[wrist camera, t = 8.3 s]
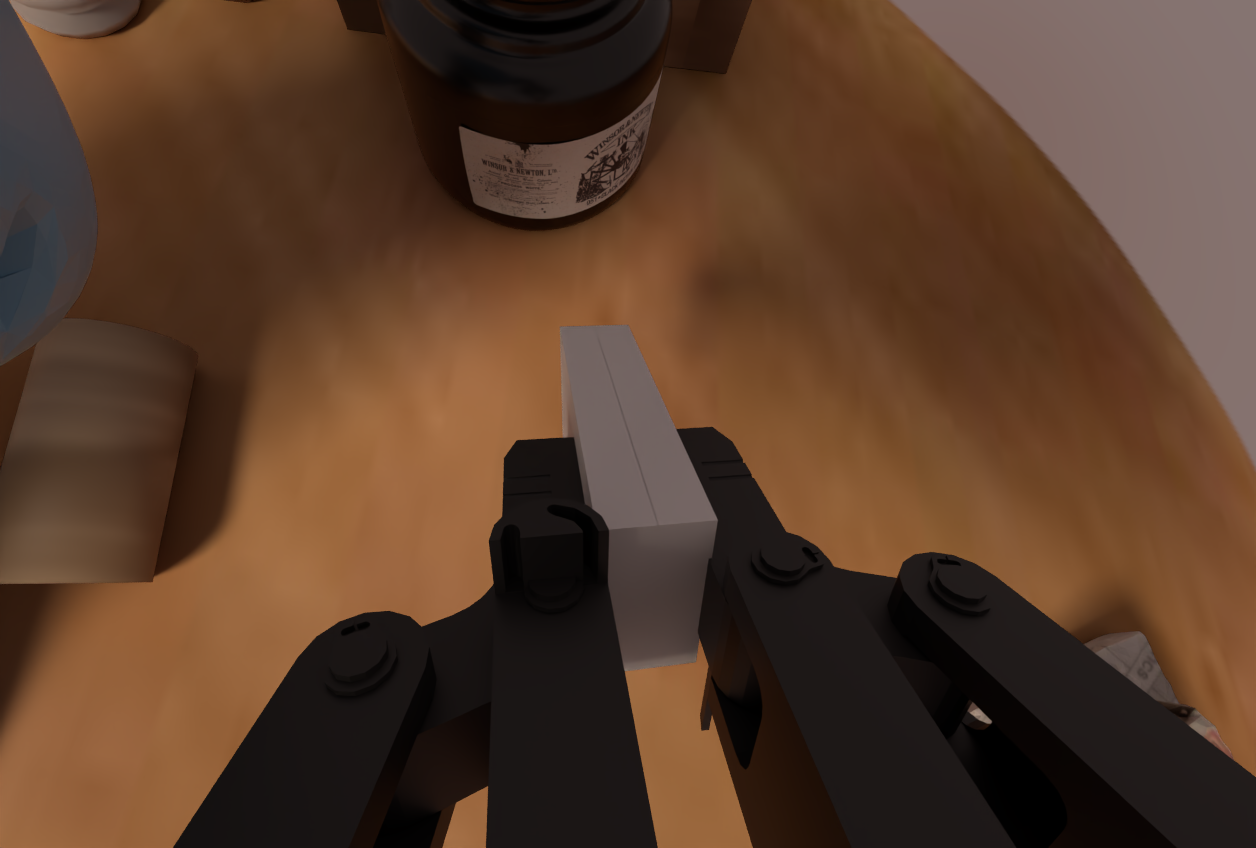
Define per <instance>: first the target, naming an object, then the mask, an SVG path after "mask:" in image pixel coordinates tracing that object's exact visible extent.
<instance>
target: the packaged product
mask: <svg viewBox="0 0 1256 848" xmlns="http://www.w3.org/2000/svg"><path fill="white" fill-rule="evenodd" d="M1084 645H1085V646H1086V647H1088V648H1089V649H1090V650H1092V651H1093V652H1094V653H1095V654H1097V655H1098V656H1099V657H1101V658H1102V659H1103V660H1105V661H1106V662H1107V663H1108V664H1110V665H1111V666H1112V667H1114V668H1115V669H1116V670H1117V671H1119V672H1120V673H1121V674H1123V675H1124V676H1125V677H1127V678H1128V679H1129V680H1130V681H1132V682H1133V683H1134V684H1136V685H1137V686H1138V687H1139V688H1141V689H1142V690H1143V691H1145V692H1146V693H1147V694H1149V695H1150V696H1151V697H1152V698H1154V699H1155V700H1156V701H1158V702H1159V703H1160V704H1162V705H1163V706H1164V707H1165V708H1167V709H1168V710H1169V711H1171V712H1172V713H1173V714H1174V715H1176V716H1177V717H1178V718H1180V719H1181V720H1182V721H1184V722H1185V723H1186V724H1187V725H1189V726H1190V727H1191V728H1193V729H1194V730H1195V731H1196V732H1198V733H1199V734H1200V735H1202V736H1203V737H1204V738H1206V739H1207V740H1208V741H1209V742H1211V743H1212V744H1213V745H1215V746H1216V747H1217V748H1219V749H1220V750H1221V751H1222V752H1224V753H1225V754H1226V755H1228V756H1229V757H1230V758H1231V759H1233V756H1232V754H1231V751H1230V749H1229V748H1228V747H1227V746H1226V745H1225V743H1224V742H1223V741H1222V740H1221V738H1220V736H1219V733H1218V731H1217V729H1216V727H1215V726H1214V725H1213V724H1212V723H1211V722H1209V721H1208V720H1207V719H1206V718H1204V717H1203V716H1202V715H1201V714H1200V713H1199V712H1198V711H1197V710H1196V709H1195V708H1192V707H1190V706H1187V705H1184V704H1179V702H1178V701H1177V699H1176V697H1175V695H1174V692H1173V690H1172V687H1171V685H1170V683H1169V682H1168V681H1167V679H1166V678H1165V676H1164V675H1163V673H1162V670H1161V668H1160V666H1159V664H1158V662H1157V661H1156V659H1155V657H1154V654H1153V652H1152V649H1151V647H1150V645H1149V643H1148V641H1147V639H1146V637H1145V635H1143V634H1142V633H1141V632H1140V631H1134V632H1122V633H1110V634H1106V635H1103V636H1100V637H1097V638H1095V639H1093V640H1091V641H1089V642H1087V643H1085V644H1084ZM968 712H969V713H971V714H972V715H973V716H974V717H976V718H977V719H978V720H981V721H983V722H985V723H988V724H991V722H992V721H991V720H990V719H989V718H988V717H987V716H986V715H985V714H984V713H983V712H982V711H981V710H980V709H979V708H978V707H977V706H976V705H975V704H974V703H973V702H972V704H971V706H970V708H969V709H968ZM1233 760H1234V759H1233Z"/></svg>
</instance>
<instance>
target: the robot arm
mask: <svg viewBox="0 0 1256 848" xmlns="http://www.w3.org/2000/svg"><path fill="white" fill-rule="evenodd" d="M97 234H98V219H97V209H96V201H95V196H94V191H93V186H92V181H91V176H90V173H89V169H88V166H87V163H86V159H85V156H84V152H83V150H82V147H81V145H80V142H79V139H78V137H77V134H76V132H75V130H74V127H73V125H72V122H71V120H70V117H69V115H68V112H67V110H66V108H65V106H64V104H63V102H62V100H61V98H60V96H59V93H58V91H57V89H56V87H55V85H54V83H53V81H52V79H51V77H50V75H49V73H48V71H47V69H46V67H45V65H44V63H43V62H42V60H41V58H40V56H39V54H38V52H37V50H36V48H35V46H34V45H33V43H32V41H31V39H30V37H29V35H28V34H27V32H26V30H25V28H24V26H23V25H22V23H21V21H20V19H19V18H18V16H17V14H16V12H15V10H14V9H13V7H12V5H11V3H10V2H9V0H0V366H1V365H3V364H5V363H7V362H8V361H10V360H11V359H13V358H15V357H16V356H18V355H20V354H21V353H23V352H24V351H26V350H28V349H29V348H31V347H32V346H33V345H35V344H36V343H37V342H39V341H40V340H41V339H42V338H44V337H45V336H46V335H48V334H49V333H50V332H51V331H52V330H53V329H54V328H55V327H56V326H57V325H58V324H59V323H60V322H61V320H62V319H63V318H64V316H65V315H66V314H67V312H68V311H69V310H70V308H71V307H72V306H73V304H74V303H75V302H76V300H77V299H78V297H79V296H80V294H81V292H82V290H83V288H84V285H85V283H86V281H87V279H88V276H89V274H90V271H91V269H92V265H93V260H94V255H95V250H96V243H97ZM560 348H561V386H562V425H563V438H548V439H531V440H517V441H516V442H515V444H514V445H513V446H512V448H511V449H510V450H509V452H508V453H507V455H506V456H505V457H504V482H503V512H502V518H501V519H500V520H499V521H498V522H497V523H496V524H495V525H494V527H493V530H492V533H491V536H490V539H489V547H490V555H491V564H492V572H493V581H494V584H493V586H492V587H491V588H490V589H489V590H488V592H487V593H486V594H485V595H484V596H483V597H482V598H481V599H479V600H478V601H477V602H475V603H474V604H472V605H471V606H470V607H468V608H466V609H464V610H462V611H460V612H458V613H456V614H454V615H452V616H449V617H446V618H444V619H441V620H438V621H436V622H433V623H430V624H428V625H425V626H422V627H421V626H420V625H419V624H418V623H417V622H416V621H414V620H413V619H412V618H411V617H410V616H406V615H402V614H399V613H395V612H391V611H382V612H369V613H363V614H360V615H357V616H354V617H352V618H349V619H346V620H343V621H340V622H338V623H337V624H335V625H334V626H332V627H331V628H329V629H328V630H326V631H325V632H323V633H322V634H320V635H318V636H317V637H316V638H315V639H314V640H313V641H312V642H311V643H310V645H309V646H308V647H307V648H306V649H305V650H304V651H303V652H302V653H301V655H300V656H299V657H298V658H297V660H296V661H295V663H294V664H293V666H292V667H291V669H290V670H289V672H288V673H287V675H286V676H285V678H284V679H283V681H282V682H281V684H280V686H279V687H278V689H277V690H276V692H275V693H274V695H273V696H272V698H271V699H270V701H269V702H268V704H267V705H266V707H265V708H264V710H263V711H262V713H261V714H260V716H259V717H258V719H257V721H256V722H255V724H254V725H253V727H252V728H251V730H250V731H249V733H248V734H247V736H246V737H245V739H244V740H243V742H242V743H241V745H240V746H239V748H238V749H237V751H236V752H235V754H234V756H233V757H232V759H231V760H230V762H229V763H228V765H227V766H226V768H225V769H224V771H223V772H222V774H221V775H220V777H219V778H218V780H217V781H216V783H215V784H214V786H213V787H212V789H211V791H210V792H209V794H208V795H207V797H206V798H205V800H204V801H203V803H202V804H201V806H200V807H199V809H198V810H197V812H196V813H195V815H194V816H193V818H192V819H191V821H190V822H189V824H188V826H187V827H186V829H185V830H184V832H183V833H182V835H181V836H180V838H179V839H178V841H177V842H176V844H175V845H174V847H173V848H442V847H443V844H444V840H445V837H446V834H447V830H448V827H449V824H450V821H451V817H452V814H453V811H454V807H455V804H456V802H458V801H460V800H462V799H464V798H466V797H468V796H469V795H471V794H473V793H475V792H477V791H479V790H481V789H483V788H485V787H487V786H488V808H487V836H486V848H658V847H657V842H656V836H655V831H654V826H653V820H652V815H651V810H650V804H649V799H648V794H647V788H646V783H645V778H644V772H643V767H642V762H641V756H640V751H639V746H638V740H637V735H636V730H635V724H634V719H633V714H632V708H631V703H630V698H629V692H628V687H627V682H626V676H625V671H631V670H639V669H646V668H654V667H662V666H670V665H678V664H686V663H693V662H696V658H697V651H698V645H699V638H700V641H701V644H702V647H703V650H704V653H705V656H706V659H707V662H708V665H709V667H708V673H707V678H706V684H705V690H704V696H703V701H702V707H701V713H700V719H701V731H703V730H709V727H710V721H711V716H713V719H714V722H715V725H716V729H717V732H718V735H719V738H720V742H721V745H722V748H723V751H724V755H725V758H726V761H727V765H728V768H729V771H730V774H731V778H732V781H733V784H734V787H735V791H736V794H737V797H738V800H739V804H740V807H741V810H742V813H743V817H744V820H745V823H746V826H747V830H748V833H749V836H750V840H751V843H752V846H753V848H1256V777H1255V776H1253V775H1252V774H1251V773H1250V772H1248V771H1247V770H1246V769H1244V768H1243V767H1242V766H1241V765H1239V764H1238V763H1237V762H1235V761H1234V760H1233V759H1231V758H1230V757H1229V756H1228V755H1226V754H1225V753H1224V752H1222V751H1221V750H1220V749H1219V748H1217V747H1216V746H1215V745H1213V744H1212V743H1211V742H1209V741H1208V740H1207V739H1206V738H1204V737H1203V736H1202V735H1200V734H1199V733H1198V732H1196V731H1195V730H1194V729H1193V728H1191V727H1190V726H1189V725H1187V724H1186V723H1185V722H1184V721H1182V720H1181V719H1180V718H1178V717H1177V716H1176V715H1174V714H1173V713H1172V712H1171V711H1169V710H1168V709H1167V708H1165V707H1164V706H1163V705H1162V704H1160V703H1159V702H1158V701H1156V700H1155V699H1154V698H1152V697H1151V696H1150V695H1149V694H1147V693H1146V692H1145V691H1143V690H1142V689H1141V688H1139V687H1138V686H1137V685H1136V684H1134V683H1133V682H1132V681H1130V680H1129V679H1128V678H1127V677H1125V676H1124V675H1123V674H1121V673H1120V672H1119V671H1117V670H1116V669H1115V668H1114V667H1112V666H1111V665H1110V664H1108V663H1107V662H1106V661H1105V660H1103V659H1102V658H1101V657H1099V656H1098V655H1097V654H1095V653H1094V652H1093V651H1092V650H1090V649H1089V648H1088V647H1086V646H1085V645H1084V644H1083V643H1081V642H1080V641H1079V640H1077V639H1076V638H1075V637H1073V636H1072V635H1071V634H1070V633H1068V632H1067V631H1066V630H1064V629H1063V628H1062V627H1060V626H1059V625H1058V624H1057V623H1055V622H1054V621H1053V620H1051V619H1050V618H1049V617H1048V616H1046V615H1045V614H1044V613H1042V612H1041V611H1040V610H1038V609H1037V608H1036V607H1035V606H1033V605H1032V604H1031V603H1029V602H1028V601H1027V600H1026V599H1024V598H1023V597H1022V596H1020V595H1019V594H1018V593H1016V592H1015V591H1014V590H1013V589H1011V588H1010V587H1009V586H1007V585H1006V584H1005V583H1004V582H1002V581H1001V580H1000V579H998V578H997V577H996V576H994V575H993V574H991V573H989V572H988V571H986V570H985V569H983V568H981V567H980V566H978V565H976V564H975V563H972V562H970V561H967V560H964V559H962V558H959V557H956V556H954V555H948V554H941V553H935V552H929V553H922V554H915V555H913V556H912V557H910V558H909V559H907V560H906V561H904V562H903V564H902V566H901V569H900V571H899V574H898V576H897V578H894V577H887V576H881V575H874V574H868V573H861V572H854V571H849V570H845V569H841V568H836V567H834V566H833V565H832V563H831V562H830V560H829V559H828V558H827V557H826V556H825V555H824V553H823V552H822V551H821V550H820V549H819V548H818V547H817V546H815V545H814V544H812V543H810V542H809V541H807V540H805V539H804V538H802V537H800V536H798V535H794V534H791V533H788V532H786V531H785V529H784V527H783V526H782V524H781V522H780V521H779V519H778V517H777V516H776V514H775V512H774V511H773V509H772V507H771V506H770V504H769V502H768V501H767V499H766V497H765V496H764V494H763V492H762V491H761V489H760V487H759V486H758V484H757V482H756V481H755V479H754V478H752V476H751V475H752V474H751V472H750V471H749V469H748V467H747V466H746V464H745V463H743V459H742V457H741V456H740V454H739V452H738V451H737V449H736V447H735V446H734V444H733V442H732V441H731V440H729V439H728V438H727V437H725V436H724V435H722V434H721V433H720V432H718V431H717V430H716V429H714V428H713V427H704V428H687V429H676V428H675V426H674V424H673V422H672V419H671V417H670V415H669V413H668V411H667V408H666V406H665V404H664V402H663V400H662V398H661V395H660V393H659V391H658V389H657V387H656V384H655V382H654V380H653V378H652V376H651V374H650V371H649V369H648V367H647V365H646V363H645V361H644V358H643V356H642V354H641V352H640V350H639V347H638V345H637V343H636V341H635V339H634V337H633V334H632V332H631V330H630V328H629V326H628V325H605V326H567V327H560ZM972 702H973V703H974V704H975V705H976V706H977V707H978V708H979V709H980V710H981V711H982V712H983V713H984V714H985V715H986V716H987V717H988V718H989V719H990V720H991V721H992V722H991V724H988V723H985V722H983V721H981V720H978V719H977V718H976V717H974V716H973V715H972V714H971V713H969V712H968V709H969V708H970V706H971V704H972Z"/></svg>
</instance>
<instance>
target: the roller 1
mask: <svg viewBox="0 0 1256 848" xmlns="http://www.w3.org/2000/svg"><path fill="white" fill-rule="evenodd" d="M197 361H198V354H197V353H196V352H195V351H194V350H193V349H192V348H190V347H189V346H187V345H185V344H183V343H181V342H179V341H177V340H175V339H172V338H170V337H167V336H164V335H161V334H158V333H155V332H152V331H148V330H145V329H141V328H137V327H133V326H128V325H123V324H118V323H113V322H107V321H100V320H91V319H79V318H63V319H62V320H61V322H60V323H59V324H58V325H57V326H56V327H55V328H54V329H53V330H52V331H51V332H50V333H49V334H48V335H46V336H45V337H44V338H42V339H41V340H40V341H39V342H37V343H36V346H35V350H34V353H33V357H32V360H31V364H30V367H29V371H28V374H27V378H26V381H25V385H24V388H23V392H22V396H21V399H20V403H19V406H18V410H17V413H16V417H15V420H14V424H13V427H12V431H11V434H10V438H9V441H8V445H7V448H6V452H5V455H4V459H3V462H2V466H1V469H0V584H40V583H129V582H153V577H154V572H155V567H156V562H157V557H158V552H159V547H160V542H161V537H162V532H163V528H164V523H165V518H166V513H167V508H168V503H169V498H170V493H171V488H172V483H173V478H174V474H175V469H176V464H177V459H178V454H179V449H180V444H181V439H182V434H183V429H184V424H185V420H186V415H187V410H188V405H189V400H190V395H191V390H192V385H193V380H194V375H195V370H196V366H197Z"/></svg>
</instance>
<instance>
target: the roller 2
mask: <svg viewBox="0 0 1256 848" xmlns="http://www.w3.org/2000/svg"><path fill="white" fill-rule="evenodd" d="M226 1H234V2H243V3H248V2H250V1H252V0H226Z"/></svg>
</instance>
